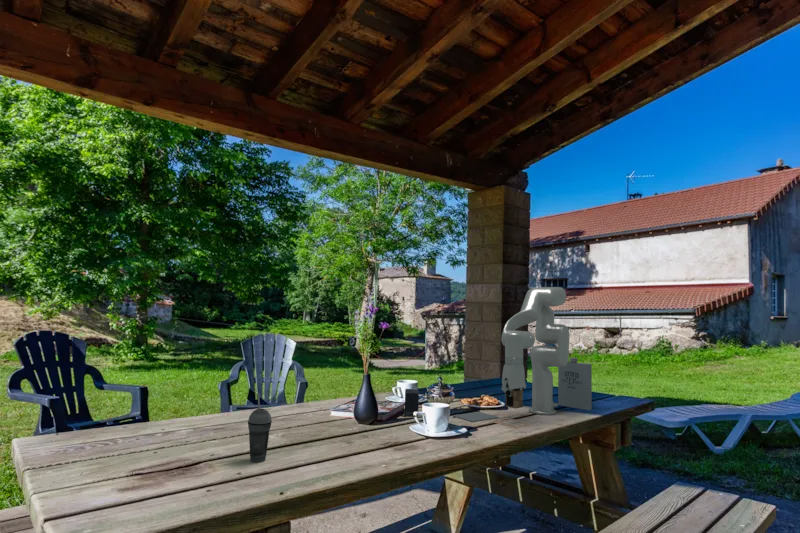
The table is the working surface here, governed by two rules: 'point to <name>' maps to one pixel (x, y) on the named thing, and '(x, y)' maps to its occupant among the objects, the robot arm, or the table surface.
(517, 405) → the walnut block
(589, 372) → the flask
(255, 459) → the beverage cup
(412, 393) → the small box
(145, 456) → the table surface
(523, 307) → the robot arm
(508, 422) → the tile
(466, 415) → the slate board
